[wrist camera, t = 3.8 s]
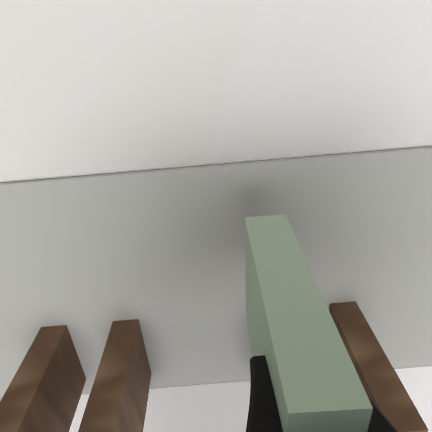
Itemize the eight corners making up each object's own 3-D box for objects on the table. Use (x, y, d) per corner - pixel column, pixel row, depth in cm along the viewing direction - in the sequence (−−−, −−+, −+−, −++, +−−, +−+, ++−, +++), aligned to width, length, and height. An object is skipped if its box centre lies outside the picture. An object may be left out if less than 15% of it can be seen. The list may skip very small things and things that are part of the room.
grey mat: (496, 140, 18) (501, 142, 18) (432, 362, 25) (434, 365, 25) (-135, 194, 18) (-140, 196, 18) (-16, 398, 25) (-18, 402, 25)
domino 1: (66, 324, 22) (2, 463, 15) (86, 378, 24) (38, 521, 17) (40, 327, 22) (-36, 466, 15) (63, 380, 24) (6, 523, 17)
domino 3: (355, 301, 22) (428, 429, 15) (348, 357, 24) (407, 492, 17) (329, 303, 22) (389, 432, 15) (324, 359, 24) (374, 495, 17)
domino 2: (138, 319, 22) (107, 455, 15) (151, 373, 24) (130, 513, 17) (112, 321, 22) (70, 457, 15) (128, 375, 24) (97, 516, 17)
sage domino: (285, 214, 14) (373, 408, 7) (280, 312, 16) (342, 534, 9) (244, 217, 14) (288, 413, 7) (245, 315, 16) (278, 537, 9)
